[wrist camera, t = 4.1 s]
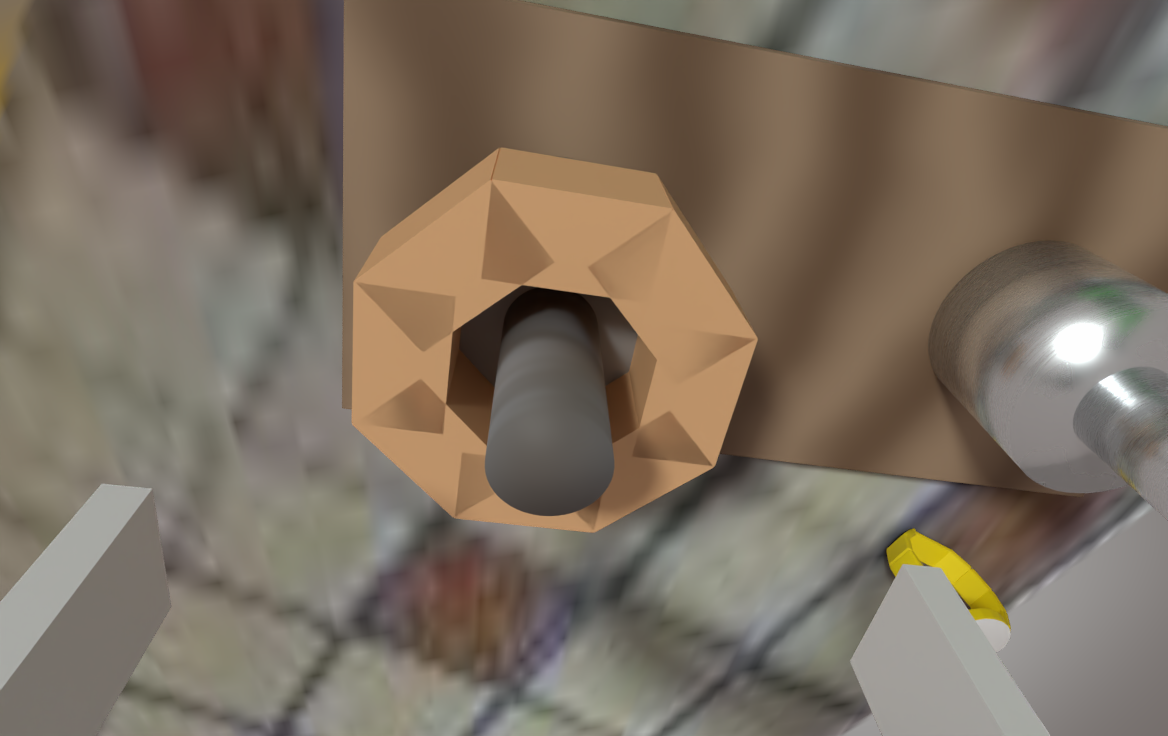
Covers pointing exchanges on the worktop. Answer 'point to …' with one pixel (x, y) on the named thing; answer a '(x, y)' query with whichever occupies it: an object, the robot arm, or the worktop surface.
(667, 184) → the tool board
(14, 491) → the worktop surface
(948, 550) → the watch
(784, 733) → the worktop surface
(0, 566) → the worktop surface
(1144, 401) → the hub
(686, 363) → the octagonal notched ring
